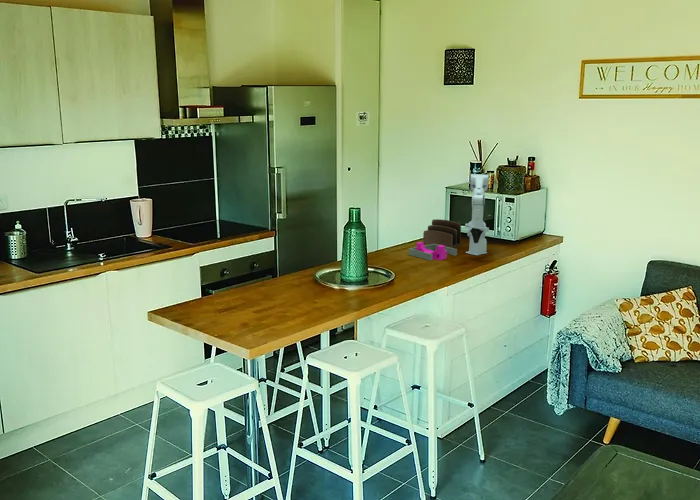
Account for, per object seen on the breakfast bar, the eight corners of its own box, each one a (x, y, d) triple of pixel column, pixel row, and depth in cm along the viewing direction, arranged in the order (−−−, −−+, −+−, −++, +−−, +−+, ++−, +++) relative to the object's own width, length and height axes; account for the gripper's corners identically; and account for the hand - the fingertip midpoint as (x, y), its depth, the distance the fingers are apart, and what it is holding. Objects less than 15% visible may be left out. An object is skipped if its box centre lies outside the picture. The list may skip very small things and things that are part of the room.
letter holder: (431, 240, 408) (432, 217, 404) (460, 245, 396) (462, 222, 392) (422, 243, 400) (423, 220, 397) (451, 248, 388) (453, 224, 385)
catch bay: (434, 249, 384) (434, 243, 383) (456, 255, 371) (457, 249, 371) (408, 254, 372) (408, 248, 371) (431, 260, 359) (431, 254, 358)
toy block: (446, 258, 366) (447, 244, 364) (441, 260, 360) (441, 246, 359) (421, 254, 374) (422, 241, 372) (416, 256, 369) (416, 243, 367)
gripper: (461, 216, 359) (460, 241, 362) (483, 220, 348) (481, 246, 352) (470, 214, 364) (469, 239, 367) (492, 218, 353) (490, 244, 356)
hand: (476, 242), depth 359 cm, fingers closed
